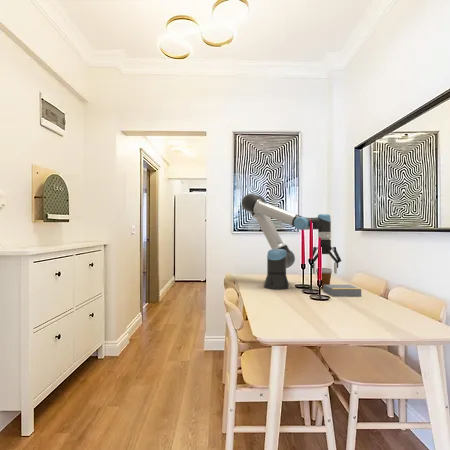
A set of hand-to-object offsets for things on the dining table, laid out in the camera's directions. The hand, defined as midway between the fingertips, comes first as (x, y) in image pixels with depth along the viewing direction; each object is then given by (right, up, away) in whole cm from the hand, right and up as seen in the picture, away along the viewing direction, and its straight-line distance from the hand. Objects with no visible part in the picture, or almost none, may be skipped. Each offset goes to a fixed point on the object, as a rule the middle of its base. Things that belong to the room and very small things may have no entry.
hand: (324, 273), depth 203 cm
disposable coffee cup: (-1, -9, 0) cm, 9 cm away
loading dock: (+5, -9, -17) cm, 19 cm away
